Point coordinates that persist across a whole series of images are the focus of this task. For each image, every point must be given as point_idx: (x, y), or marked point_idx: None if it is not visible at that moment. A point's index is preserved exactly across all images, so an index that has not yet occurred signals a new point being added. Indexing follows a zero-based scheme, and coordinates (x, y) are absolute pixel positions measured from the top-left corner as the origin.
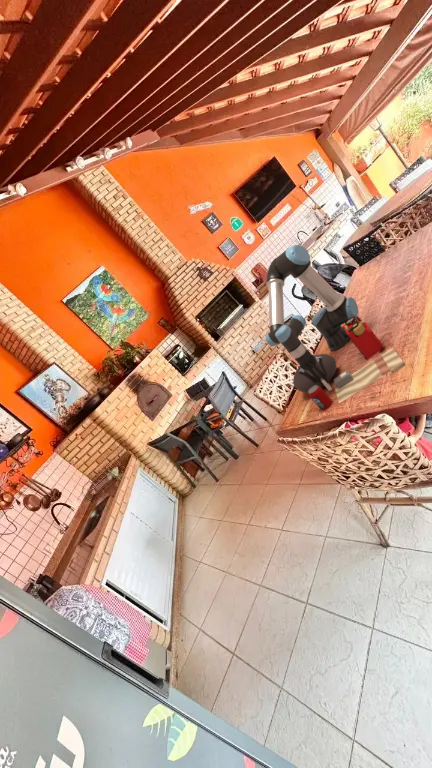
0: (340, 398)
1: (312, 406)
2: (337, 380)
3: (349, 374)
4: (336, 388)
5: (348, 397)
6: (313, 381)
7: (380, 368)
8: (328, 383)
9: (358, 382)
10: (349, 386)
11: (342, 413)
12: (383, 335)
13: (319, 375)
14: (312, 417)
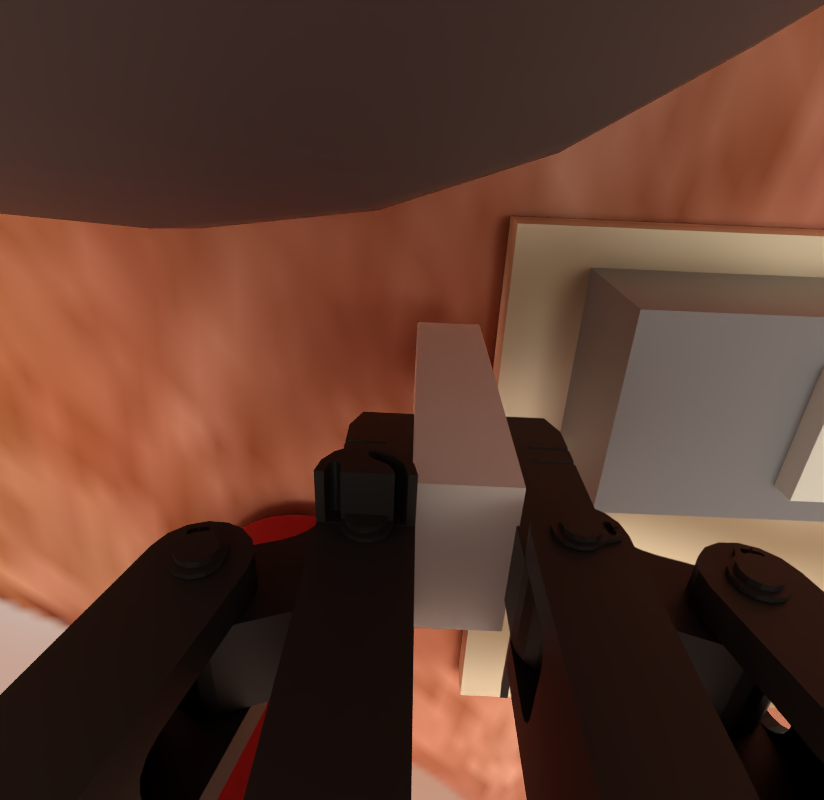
0: (503, 640)
1: (19, 324)
2: (684, 457)
3: None
4: (530, 369)
5: None
6: (153, 759)
7: None
8: (489, 364)
9: (819, 576)
10: (698, 536)
11: (443, 768)
12: None
13: (415, 160)
14: (72, 572)
